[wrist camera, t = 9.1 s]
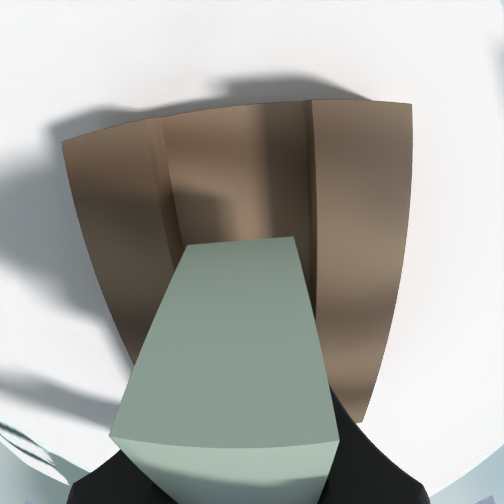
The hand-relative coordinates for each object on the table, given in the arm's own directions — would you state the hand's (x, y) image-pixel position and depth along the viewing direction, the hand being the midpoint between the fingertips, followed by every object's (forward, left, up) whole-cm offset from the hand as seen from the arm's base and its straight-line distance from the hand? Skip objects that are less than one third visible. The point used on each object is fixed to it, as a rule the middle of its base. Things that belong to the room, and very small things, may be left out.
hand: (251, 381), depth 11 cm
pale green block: (0, 0, -2) cm, 2 cm away
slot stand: (0, 0, -6) cm, 6 cm away
